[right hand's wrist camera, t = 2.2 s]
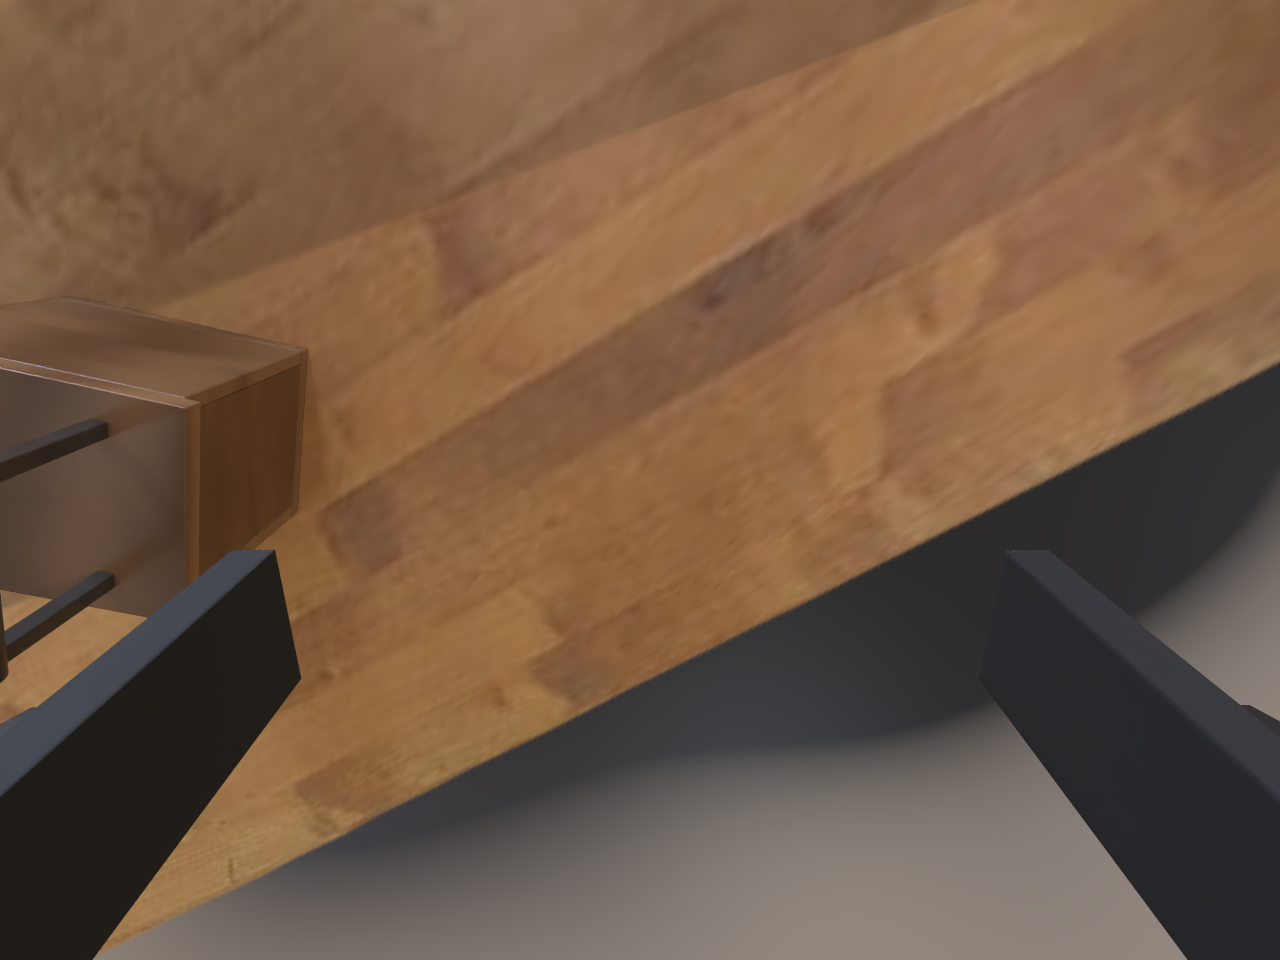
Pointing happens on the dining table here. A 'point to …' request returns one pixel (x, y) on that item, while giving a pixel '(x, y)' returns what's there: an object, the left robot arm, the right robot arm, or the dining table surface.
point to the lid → (93, 498)
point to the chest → (196, 370)
